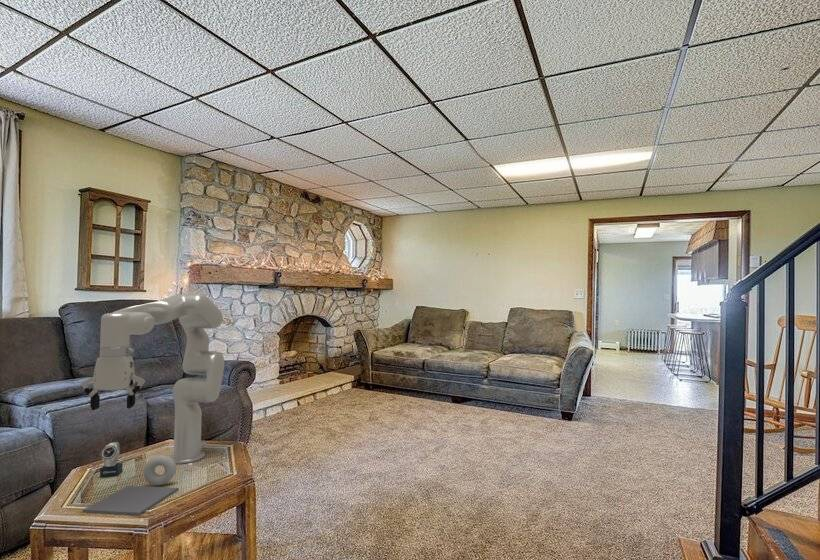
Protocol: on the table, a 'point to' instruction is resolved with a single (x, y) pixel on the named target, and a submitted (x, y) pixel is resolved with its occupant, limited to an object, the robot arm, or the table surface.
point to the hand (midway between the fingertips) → (112, 408)
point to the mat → (131, 500)
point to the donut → (155, 478)
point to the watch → (111, 461)
